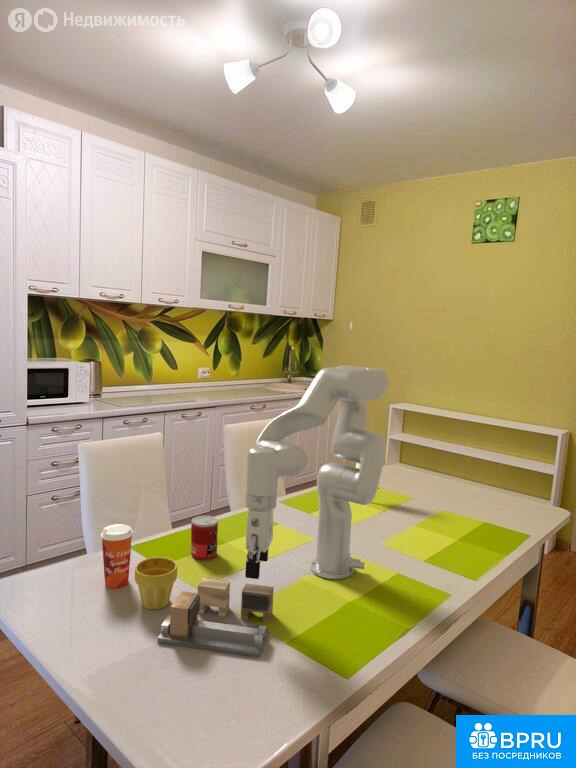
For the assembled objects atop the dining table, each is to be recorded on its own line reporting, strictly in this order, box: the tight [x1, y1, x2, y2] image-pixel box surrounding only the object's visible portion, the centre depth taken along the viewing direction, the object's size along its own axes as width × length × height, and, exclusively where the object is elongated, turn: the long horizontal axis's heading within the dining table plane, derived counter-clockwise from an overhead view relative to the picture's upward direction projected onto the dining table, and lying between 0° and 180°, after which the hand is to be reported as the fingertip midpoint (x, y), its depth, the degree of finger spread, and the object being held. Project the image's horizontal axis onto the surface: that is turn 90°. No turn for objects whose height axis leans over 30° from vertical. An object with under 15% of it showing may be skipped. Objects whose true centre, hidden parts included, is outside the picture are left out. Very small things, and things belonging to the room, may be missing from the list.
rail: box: [156, 591, 269, 658], centre depth 120 cm, size 23×9×8 cm, turn 81°
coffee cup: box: [100, 523, 135, 589], centre depth 142 cm, size 8×8×15 cm
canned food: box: [190, 515, 219, 561], centre depth 161 cm, size 8×8×11 cm
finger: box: [240, 583, 275, 623], centre depth 129 cm, size 5×7×7 cm, turn 81°
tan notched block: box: [197, 577, 231, 617], centre depth 132 cm, size 5×7×7 cm, turn 81°
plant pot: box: [134, 556, 178, 610], centre depth 133 cm, size 10×10×10 cm
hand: (256, 568), depth 128 cm, fingers open, 9 cm apart
